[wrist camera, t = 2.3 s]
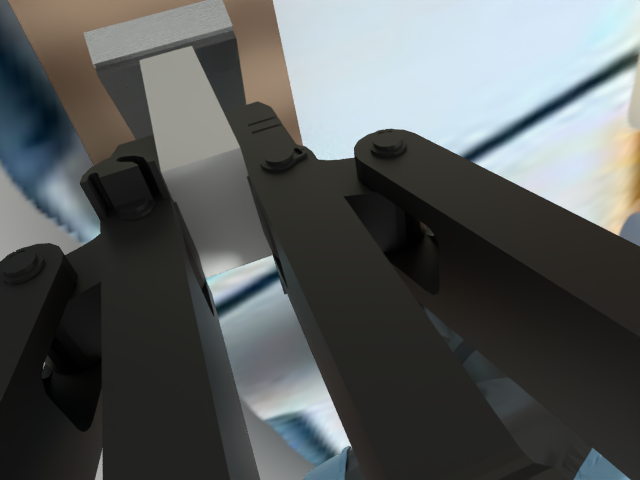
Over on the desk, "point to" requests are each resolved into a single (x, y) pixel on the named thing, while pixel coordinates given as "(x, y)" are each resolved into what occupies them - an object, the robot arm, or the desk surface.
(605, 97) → the desk surface
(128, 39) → the silver metal piece
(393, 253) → the robot arm
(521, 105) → the desk surface
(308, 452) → the desk surface
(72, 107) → the base
